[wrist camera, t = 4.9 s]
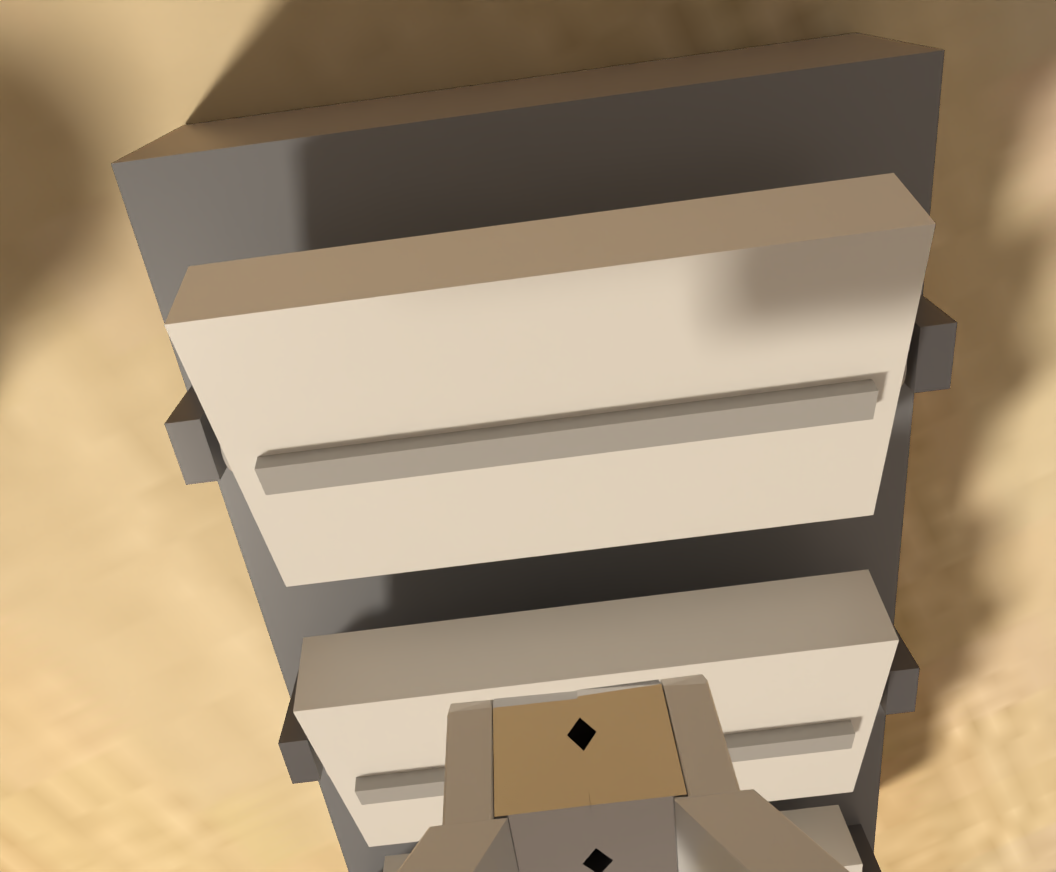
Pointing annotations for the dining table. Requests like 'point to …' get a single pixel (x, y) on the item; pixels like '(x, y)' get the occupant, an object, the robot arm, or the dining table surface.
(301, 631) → the switch unit
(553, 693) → the robot arm
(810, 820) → the grooved switch paddle
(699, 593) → the rocker
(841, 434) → the panel
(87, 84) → the dining table surface
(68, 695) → the dining table surface
